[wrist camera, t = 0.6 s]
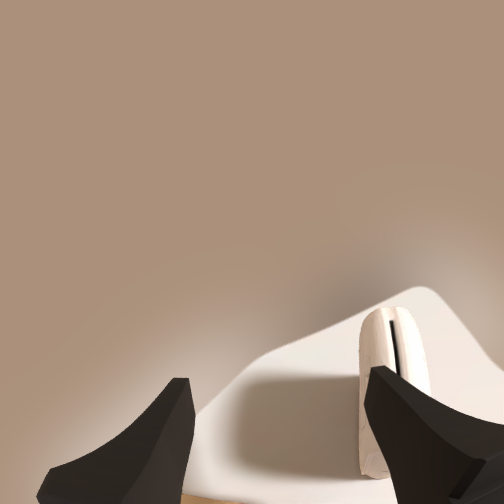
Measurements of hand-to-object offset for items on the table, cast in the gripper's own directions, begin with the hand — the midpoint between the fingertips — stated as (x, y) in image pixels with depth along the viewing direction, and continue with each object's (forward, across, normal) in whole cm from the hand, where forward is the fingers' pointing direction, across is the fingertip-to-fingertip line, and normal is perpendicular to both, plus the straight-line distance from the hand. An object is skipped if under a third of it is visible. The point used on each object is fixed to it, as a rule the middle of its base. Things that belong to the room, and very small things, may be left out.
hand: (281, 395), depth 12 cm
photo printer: (+8, -10, +12) cm, 18 cm away
